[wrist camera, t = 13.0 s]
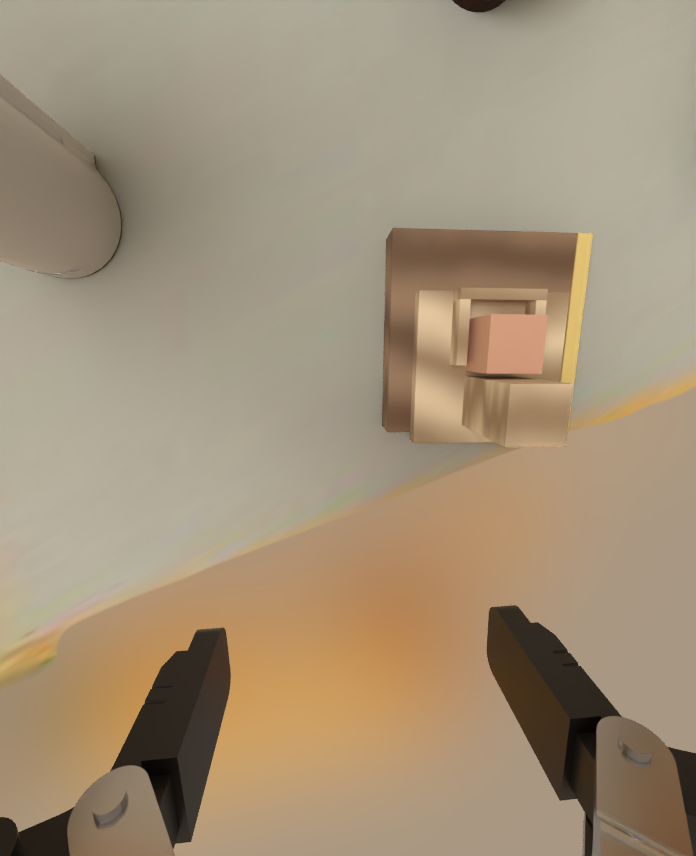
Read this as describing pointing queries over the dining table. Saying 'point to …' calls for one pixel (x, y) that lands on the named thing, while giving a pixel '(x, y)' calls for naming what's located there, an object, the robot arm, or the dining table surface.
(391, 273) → the dock
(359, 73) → the dining table surface
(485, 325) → the block
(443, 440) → the beige wooden block stand
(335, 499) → the dining table surface
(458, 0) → the coffee mug
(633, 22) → the dining table surface
